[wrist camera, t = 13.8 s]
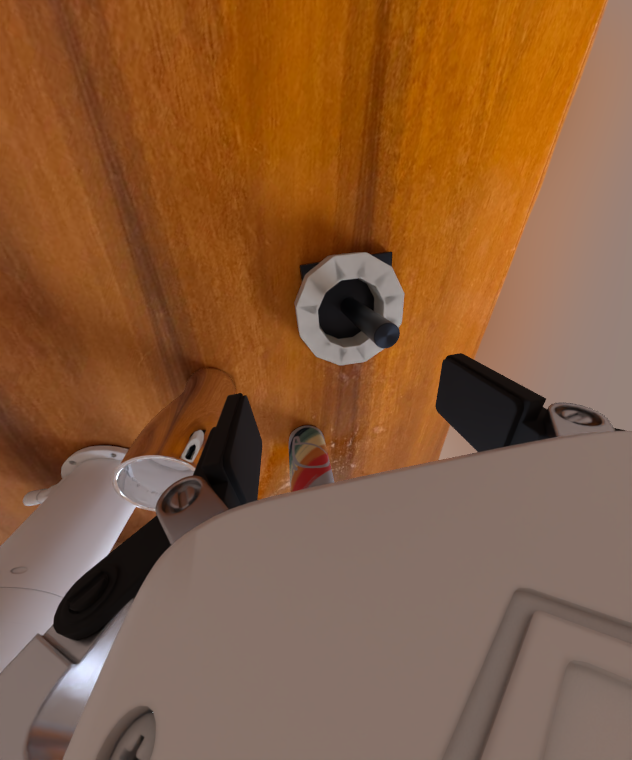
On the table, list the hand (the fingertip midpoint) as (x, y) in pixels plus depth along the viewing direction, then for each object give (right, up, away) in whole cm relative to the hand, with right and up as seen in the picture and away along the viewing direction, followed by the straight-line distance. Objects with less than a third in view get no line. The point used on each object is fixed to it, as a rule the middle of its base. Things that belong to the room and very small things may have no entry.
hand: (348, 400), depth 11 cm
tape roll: (+2, +9, +16) cm, 18 cm away
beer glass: (-15, 0, +20) cm, 25 cm away
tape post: (+2, +10, +17) cm, 20 cm away
